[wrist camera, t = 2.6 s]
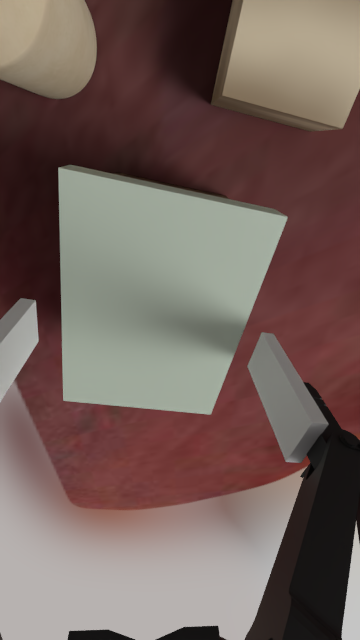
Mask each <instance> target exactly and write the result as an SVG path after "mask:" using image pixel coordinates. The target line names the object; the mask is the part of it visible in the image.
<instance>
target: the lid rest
mask: <svg viewBox="0 0 360 640" xmlns="http://www.w3.org/2000/svg"><path fill="white" fill-rule="evenodd" d="M359 89H360V0H233V1H232V6H231V10H230V15H229V20H228V25H227V29H226V34H225V39H224V44H223V49H222V53H221V58H220V63H219V68H218V72H217V77H216V82H215V87H214V92H213V96H212V101H211V105H214V106H218V107H222V108H225V109H229V110H233V111H236V112H240V113H244V114H248V115H251V116H255V117H259V118H262V119H266V120H270V121H273V122H277V123H281V124H285V125H288V126H292V127H296V128H299V129H303V130H307V131H322V130H334V129H343V127H344V124H345V122H346V120H347V117H348V115H349V113H350V110H351V108H352V105H353V103H354V101H355V98H356V96H357V94H358V91H359Z"/></svg>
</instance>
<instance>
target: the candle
mask: <svg viewBox="0 0 360 640" xmlns="http://www.w3.org/2000/svg"><path fill="white" fill-rule="evenodd" d="M96 57H97V42H96V34H95V28H94V24H93V20H92V17H91V14H90V11H89V9H88V7H87V5H86V3H85V0H0V79H1V80H3V81H6V82H8V83H11V84H13V85H16V86H18V87H21V88H23V89H26V90H28V91H31V92H33V93H36V94H38V95H41V96H44V97H48V98H53V99H64V98H68V97H71V96H73V95H75V94H77V93H78V92H80V91H81V90H82V89H83V88H84V87H85V86H86V85H87V83H88V82H89V80H90V78H91V76H92V74H93V71H94V67H95V63H96Z"/></svg>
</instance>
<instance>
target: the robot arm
mask: <svg viewBox="0 0 360 640" xmlns="http://www.w3.org/2000/svg"><path fill="white" fill-rule="evenodd" d="M38 341H39V340H38V325H37V311H36V300H31V299H24V298H20V299H19V300H18V301H17V302H16V304H15V305H14V306H13V307H12V308H11V309H10V310H9V311H8V312H7V313H6V314H5V315H4V316H3V318H2V319H1V320H0V402H1V400H2V398H3V397H4V395H5V394H6V392H7V390H8V389H9V387H10V386H11V384H12V383H13V381H14V379H15V378H16V376H17V375H18V373H19V371H20V370H21V368H22V367H23V365H24V363H25V362H26V360H27V359H28V357H29V356H30V354H31V352H32V351H33V349H34V348H35V346H36V344H37V343H38ZM248 369H249V371H250V374H251V376H252V379H253V381H254V384H255V386H256V389H257V391H258V394H259V396H260V399H261V401H262V404H263V406H264V409H265V411H266V413H267V416H268V418H269V421H270V423H271V426H272V428H273V431H274V433H275V436H276V438H277V441H278V443H279V446H280V448H281V451H282V453H283V456H284V458H285V461H286V462H298V463H301V462H302V461H303V459H304V458H305V457H306V455H307V456H308V458H309V460H310V462H311V463H310V464H309V465H308V467H307V468H306V469H305V471H304V472H303V473H302V475H301V477H302V478H303V477H304V478H303V481H302V484H301V487H300V490H299V493H298V496H297V498H296V502H295V504H294V507H293V510H292V513H291V516H290V519H289V522H288V525H287V528H286V531H285V533H284V537H283V539H282V542H281V545H280V548H279V551H278V554H277V557H276V560H275V563H274V566H273V568H272V571H271V574H270V577H269V580H268V583H267V586H266V589H265V592H264V595H263V598H262V601H261V604H260V606H259V609H258V612H257V615H256V618H255V621H254V622H253V625H252V627H251V629H250V631H249V632H248V634H247V635H246V638H245V640H342V638H341V635H342V634H341V633H342V625H343V617H344V609H345V601H346V593H347V586H348V578H349V571H350V563H351V555H352V548H353V539H354V532H355V525H356V521H357V528H358V535H359V541H360V440H359V439H358V438H357V437H356V436H354V435H353V434H352V433H350V432H348V431H346V430H342V429H341V427H340V426H339V424H338V423H337V421H336V420H335V418H334V416H333V415H332V413H331V412H330V410H329V409H328V407H326V404H325V403H324V401H323V400H322V398H321V396H320V395H319V393H318V392H317V390H316V389H315V388H313V387H312V386H311V385H310V384H309V383H305V382H303V381H302V380H301V378H300V376H299V375H298V373H297V371H296V370H295V368H294V367H293V365H292V363H291V362H290V360H289V358H288V357H287V355H286V354H285V352H284V350H283V349H282V347H281V345H280V344H279V342H278V341H277V339H276V337H275V336H274V334H271V333H264V332H262V333H261V336H260V338H259V340H258V343H257V345H256V347H255V350H254V352H253V354H252V357H251V359H250V361H249V364H248ZM0 640H2V637H1V634H0ZM68 640H135V639H132V638H129V637H127V636H124V635H121V634H118V633H115V632H113V631H110V630H86V631H69V635H68ZM156 640H226V639H224V638H222V637H220V636H219V629H218V626H202V627H183V628H181V629H179V630H176V631H174V632H172V633H170V634H167V635H165V636H163V637H161V638H159V639H156Z"/></svg>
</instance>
